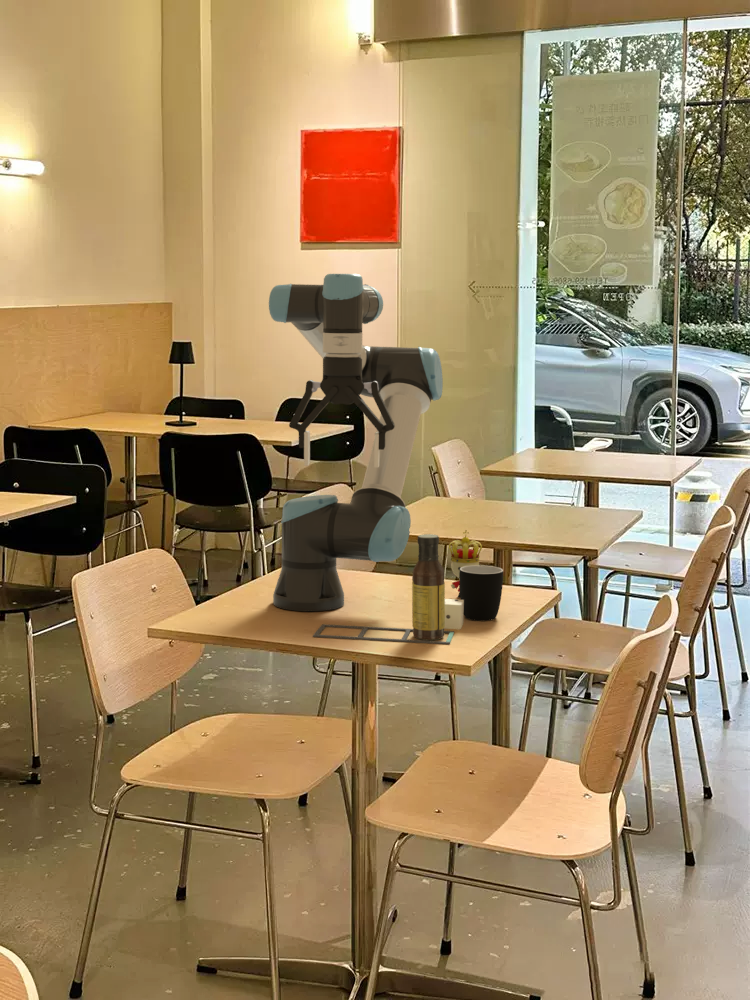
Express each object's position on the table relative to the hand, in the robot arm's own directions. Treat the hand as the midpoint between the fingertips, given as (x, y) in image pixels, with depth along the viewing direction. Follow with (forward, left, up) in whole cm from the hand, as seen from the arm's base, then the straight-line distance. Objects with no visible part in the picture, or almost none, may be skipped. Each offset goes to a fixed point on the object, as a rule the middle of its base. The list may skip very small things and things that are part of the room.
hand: (341, 465), depth 245 cm
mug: (-17, +26, -33) cm, 45 cm away
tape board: (+3, +9, -32) cm, 34 cm away
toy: (-35, +22, -33) cm, 52 cm away
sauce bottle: (+3, +18, -33) cm, 37 cm away
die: (-7, +21, -32) cm, 39 cm away
